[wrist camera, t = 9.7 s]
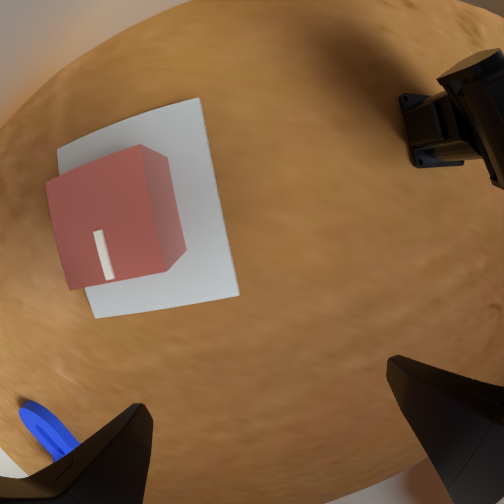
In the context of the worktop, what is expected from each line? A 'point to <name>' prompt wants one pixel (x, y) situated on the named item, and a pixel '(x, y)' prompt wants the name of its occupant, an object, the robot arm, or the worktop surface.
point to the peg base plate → (188, 203)
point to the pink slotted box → (116, 218)
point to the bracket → (47, 430)
